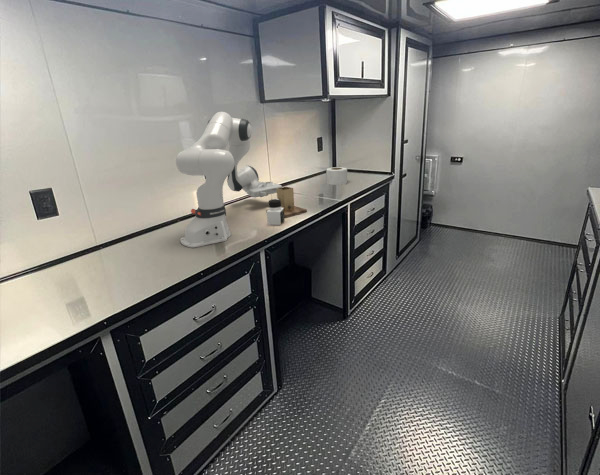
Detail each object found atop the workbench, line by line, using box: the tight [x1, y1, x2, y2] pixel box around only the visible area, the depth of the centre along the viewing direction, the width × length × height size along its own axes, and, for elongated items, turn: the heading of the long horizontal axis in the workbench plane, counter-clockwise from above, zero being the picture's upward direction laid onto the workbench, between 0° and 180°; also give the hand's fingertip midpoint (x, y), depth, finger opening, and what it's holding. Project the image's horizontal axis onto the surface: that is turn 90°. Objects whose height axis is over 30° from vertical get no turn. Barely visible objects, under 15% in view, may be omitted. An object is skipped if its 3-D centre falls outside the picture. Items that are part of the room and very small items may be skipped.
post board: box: [265, 205, 308, 219], centre depth 188 cm, size 16×16×10 cm
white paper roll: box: [325, 166, 348, 186], centre depth 256 cm, size 16×15×11 cm
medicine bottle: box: [266, 198, 286, 226], centre depth 171 cm, size 7×7×12 cm
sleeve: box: [276, 186, 295, 212], centre depth 187 cm, size 6×8×12 cm
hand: (273, 192), depth 195 cm, fingers open, 8 cm apart
